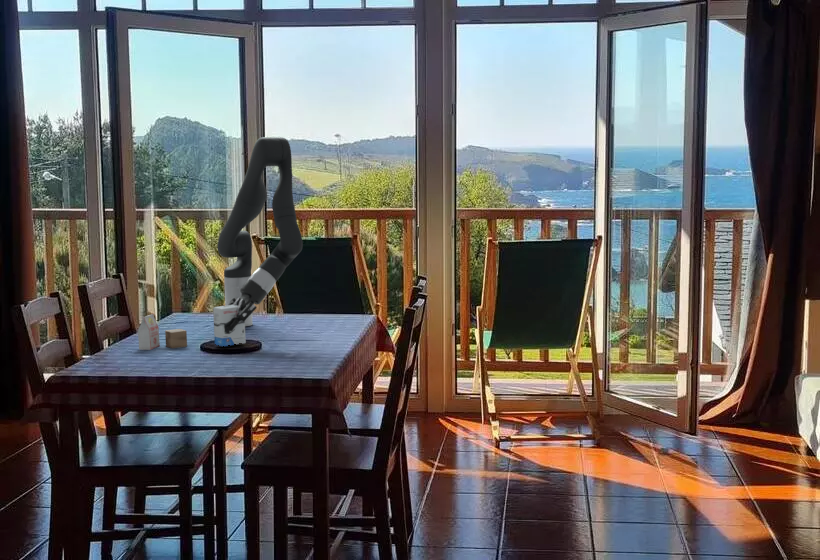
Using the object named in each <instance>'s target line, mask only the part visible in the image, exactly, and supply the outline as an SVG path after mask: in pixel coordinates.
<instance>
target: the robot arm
mask: <svg viewBox="0 0 820 560" xmlns="http://www.w3.org/2000/svg"><path fill="white" fill-rule="evenodd" d="M291 149H292V148H291V146H290V142H289V141H288V139H287V138H285V137H280V136H278V137H277V136H266V137H265V136H263V137H259V138H258V139H257V140H256V141H255V142H254V145H253V148H252V151H251V155H250V158H249V159H250V160H249V164H248V167H247V169H246V173H245V176H244V178H243V181H242V184H241V187H240V189H239V191H238V193H237V195H236V198H235V201H234V204H233V207H232V209H231V211H230V214H229V217H228V219H227V220H226V223H225V224H224V226H223V228H222V230H221V232H220V234H219V236H218V241H217V251H218V254H219V256H221V257H222V258H227V259H229V258H236V261H235V262H233V264H231V265H229V266H227V267H226V268H224V270H223V277H224V278H223V279H224V280H223V281H224V285H223V286H224V301H225V302H224V303H225V305H224V306H227V305H237V306H238V308H237V309H236V314H235V315H234V318H232V319H231V321H230V322H229V323H228V324H227V325H226V328H227V329H228V330H229V331H232V330H233V329H234V328H235V326H236V325H237V324H238V323H239V322H241V321H245V327H250V326H253V312H254V311H256V310H257V306H256V305H260V304H261V302H263V300H264V299H265V297H266V296H268V294H269V292H270V291H271V290H272V289H273V287H274V286H275V284H276V282H277V281H278V280H279V279H280V278H281V277H282V275H283V273H284V272H285V271H286V268H287V267H288V266H290V264H291V263H292V262H293V261H294V259H295V258H296V257H297V256H298V255H299V254H300V253H301V252H302V250H303V237H302V234H301V230H300V227H299V225H298V221H297V220H298V219H297V214H296V208H295V203H294V195H293V165H292V164H293V163H292V162H293V161H292V150H291ZM267 167H278V172H279V178H278V183H277V186H276V188H275V191H274V193H273V197H272V200H271V201H272V203H271V206H272V207H271V208H272V213H273V219H274V225H275V227H276V229H277V230H278V233H279V239H280V241H279V242H278V244H277V245H276V247H275V248H274V249H273V250H272V252H270V255H269V256H268V257H266V258H265V259H264V261H262V263H261V264H260V266H258V268H257V269H256V270H255V271H254V272H253V273H252V267H253V263H252V262H253V243H252V242H253V241H252V240H253V239H252V237H251V234H250V233H249V232H248V231H247V230H243V229H244V228H245V227H246V226H248V225H249V224H251V222H252V221H254V220H255V219H256V218H258V216H259V215H260V214H261V212H262V211H263V208H264V206H265V203H266V201H267V196H268V193H267V189H266V185H265V183H264V181H263V177H262V176H263V172H264V170H265V168H267Z"/></svg>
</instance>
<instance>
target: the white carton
mask: <svg viewBox="0 0 820 560" xmlns="http://www.w3.org/2000/svg"><path fill="white" fill-rule="evenodd" d="M137 336H138V337H137V338H138V350H140V351H142V350H143V351H151V350H153V349H155V348H158V347H160V345H161V344H160V327H159V325H158V323H157V320H156V318H155V316H154V313H152V314H149V315H146V316H143V317H142V320H141V323H140V324H139V328H138V330H137Z"/></svg>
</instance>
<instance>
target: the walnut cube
mask: <svg viewBox="0 0 820 560" xmlns="http://www.w3.org/2000/svg"><path fill="white" fill-rule="evenodd" d="M164 332H165V333H164V335H165V347H167V348H170V349H177V348H186V347H188V336H187V335H188V334H187V330H185V329H182V328H176V329H167V330H165V331H164Z"/></svg>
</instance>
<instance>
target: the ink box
mask: <svg viewBox="0 0 820 560" xmlns="http://www.w3.org/2000/svg"><path fill="white" fill-rule="evenodd" d="M237 308H238V306H237V305H227V306H225V305H221V306H214V307H213V308H212V310H213V311H212V312H213V315H212V316H213V332H214V333H213V334H214V335H213V338H214V345H215V344H216V345H215V346H218V345H219V347H223V346H224V347H229V346H228V345H230V346H235V345H234V344H236V345H240V344H239V343H242V344H246V342H247V341H246V326H245V321H241V322H239V323H238V324H237V325H236V326H235V328H234V329H233V330H232V331H229V330H228V329H227V328H226V325H227V324H228V323H229V322H230V321H231V319H232V318H234V315H235V314H236V309H237Z"/></svg>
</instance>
